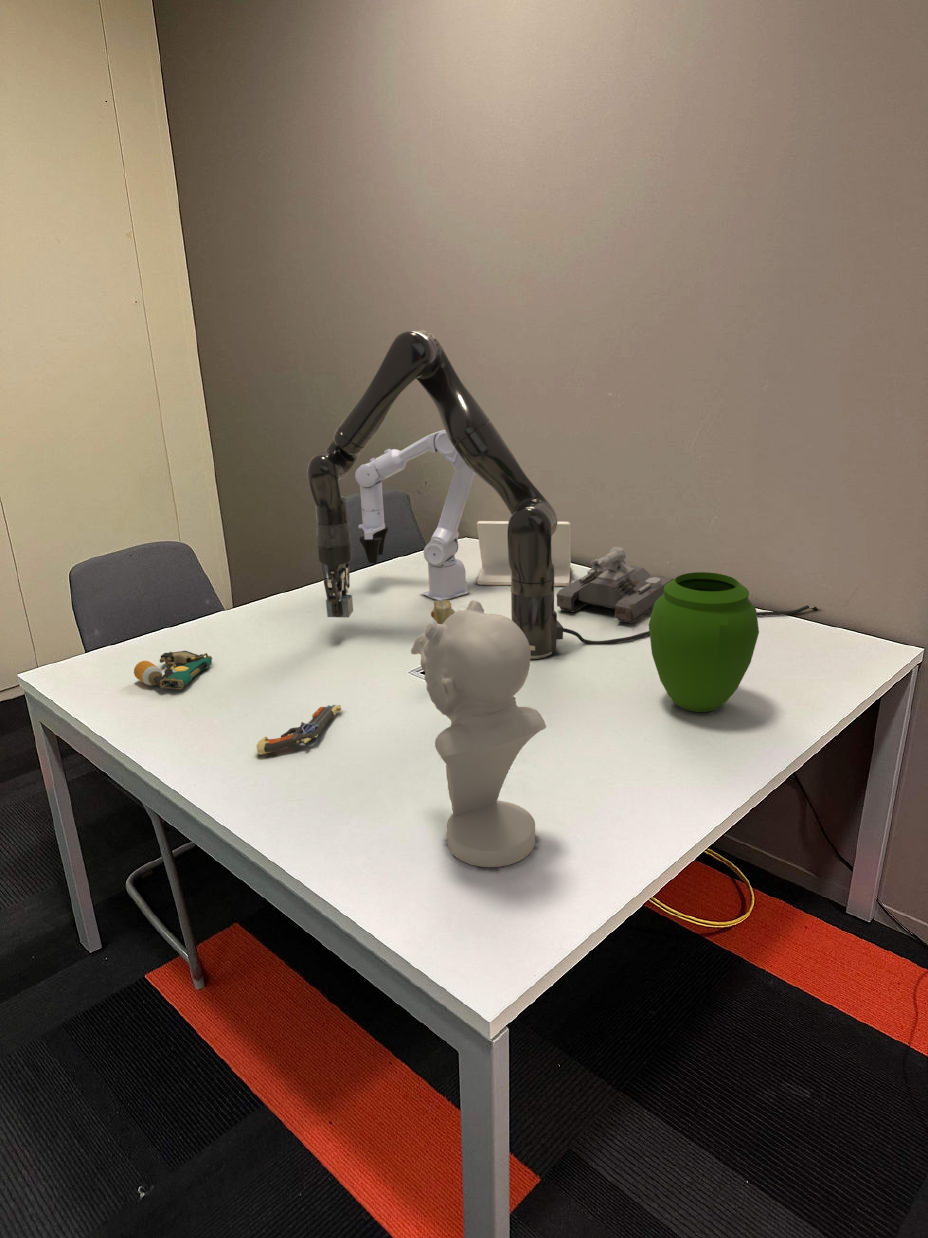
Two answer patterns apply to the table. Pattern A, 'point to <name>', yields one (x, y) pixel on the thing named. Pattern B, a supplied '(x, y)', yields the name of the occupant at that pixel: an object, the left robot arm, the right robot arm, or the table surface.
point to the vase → (702, 638)
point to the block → (346, 606)
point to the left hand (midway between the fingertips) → (375, 558)
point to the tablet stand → (496, 553)
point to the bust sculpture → (481, 729)
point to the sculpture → (441, 611)
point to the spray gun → (172, 669)
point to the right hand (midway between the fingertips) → (340, 612)
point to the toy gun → (299, 731)
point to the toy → (614, 588)
